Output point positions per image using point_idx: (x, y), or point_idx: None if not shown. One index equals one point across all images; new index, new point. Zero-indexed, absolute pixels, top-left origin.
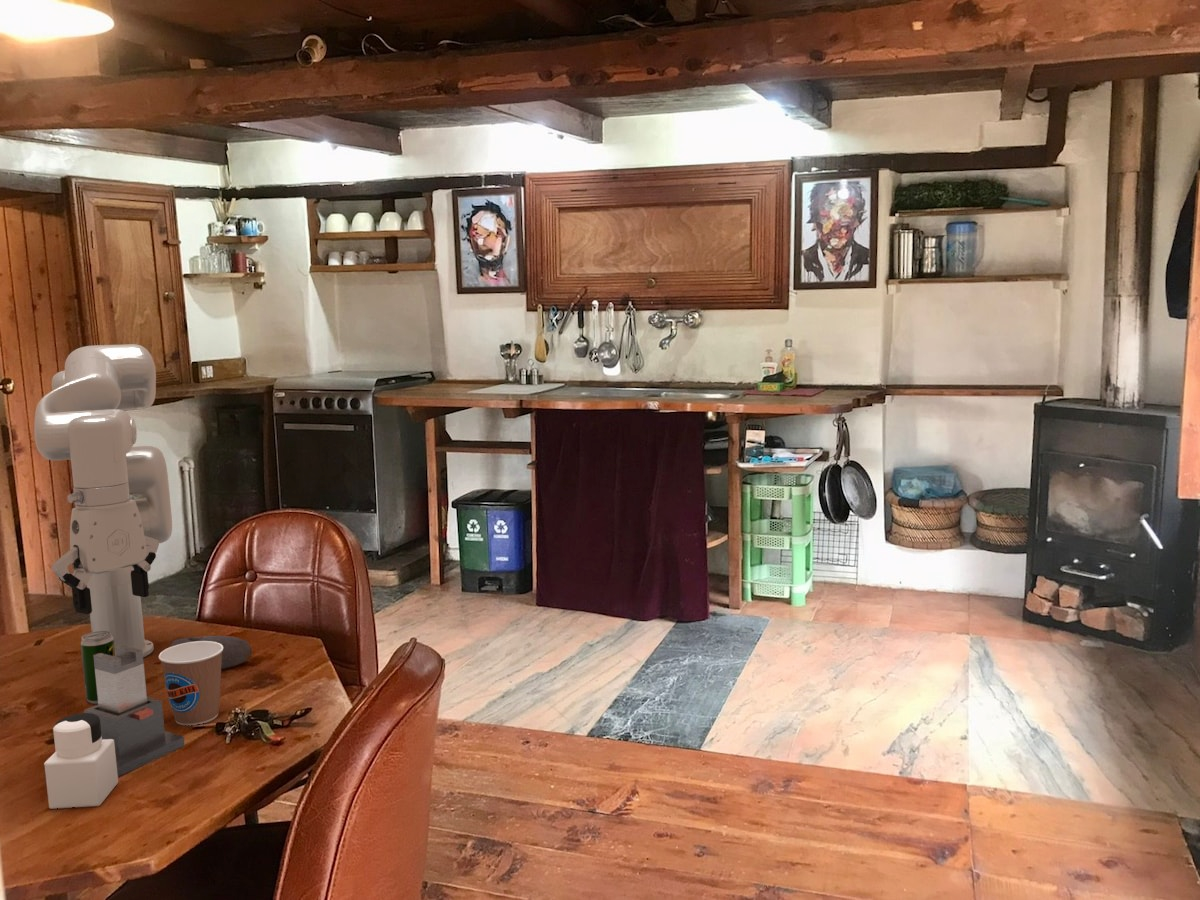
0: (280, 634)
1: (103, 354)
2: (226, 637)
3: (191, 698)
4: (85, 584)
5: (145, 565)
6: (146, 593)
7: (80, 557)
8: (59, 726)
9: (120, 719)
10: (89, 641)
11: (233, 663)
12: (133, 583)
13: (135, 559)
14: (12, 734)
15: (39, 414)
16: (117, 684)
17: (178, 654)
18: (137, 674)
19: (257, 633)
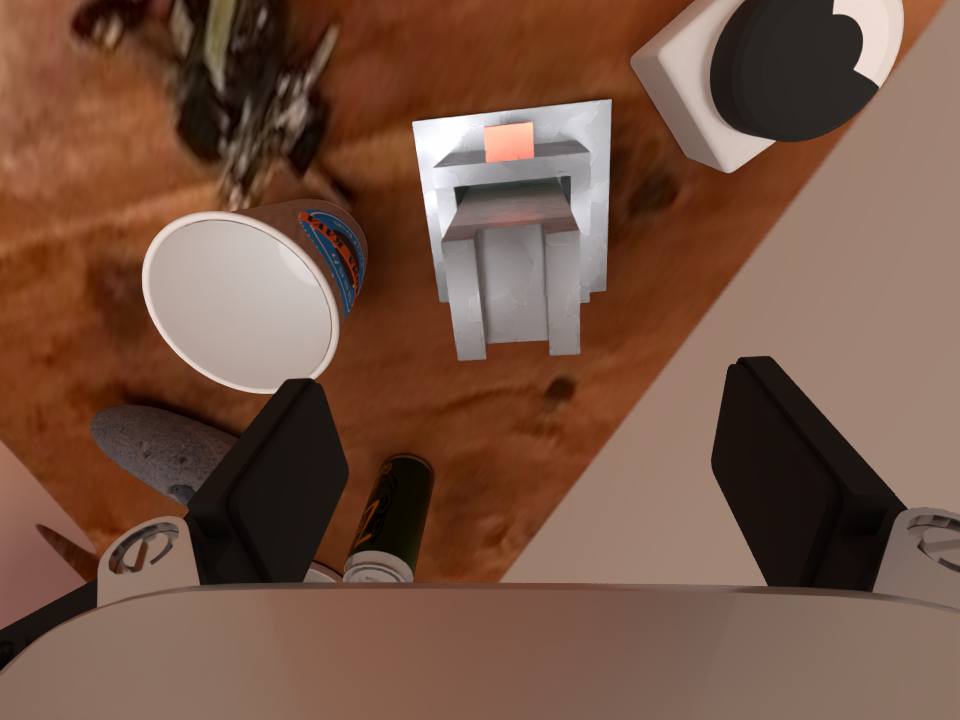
0: (29, 468)
1: None
2: (122, 458)
3: (326, 218)
4: (905, 545)
5: (142, 574)
6: (295, 387)
7: None
8: (890, 52)
9: (576, 152)
10: (401, 573)
11: (155, 409)
12: (317, 519)
13: (199, 647)
14: (582, 467)
15: None
16: (563, 206)
17: (268, 371)
18: (480, 217)
19: (70, 502)
